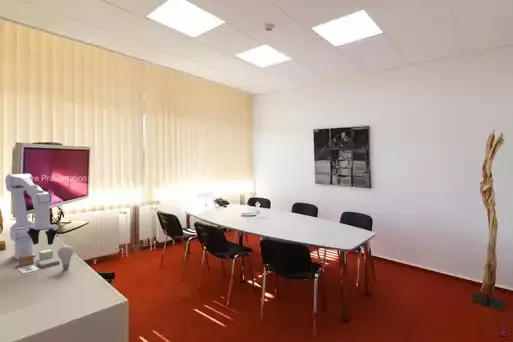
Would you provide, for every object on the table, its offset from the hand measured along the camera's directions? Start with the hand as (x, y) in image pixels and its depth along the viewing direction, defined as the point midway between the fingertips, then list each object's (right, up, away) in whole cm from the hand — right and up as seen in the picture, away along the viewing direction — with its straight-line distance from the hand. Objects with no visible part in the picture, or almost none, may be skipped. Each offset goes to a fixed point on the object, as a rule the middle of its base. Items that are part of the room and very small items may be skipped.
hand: (43, 244), depth 139 cm
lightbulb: (+16, -10, -7) cm, 20 cm away
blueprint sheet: (-1, -10, -7) cm, 12 cm away
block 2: (-3, -10, +6) cm, 11 cm away
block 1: (-8, -10, -1) cm, 12 cm away
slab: (+4, -10, -1) cm, 10 cm away
